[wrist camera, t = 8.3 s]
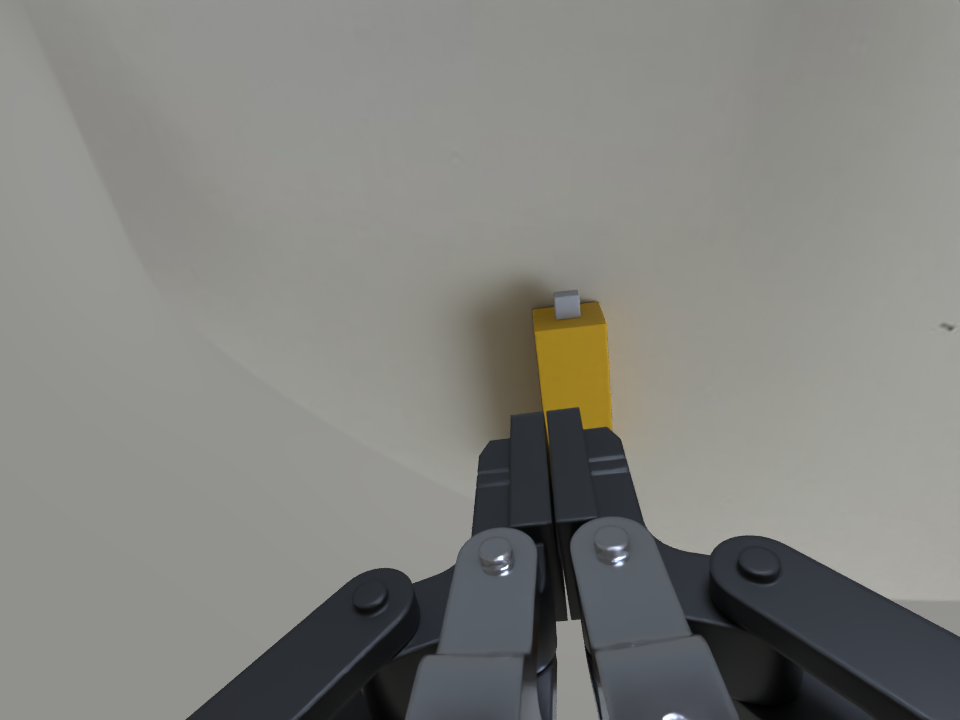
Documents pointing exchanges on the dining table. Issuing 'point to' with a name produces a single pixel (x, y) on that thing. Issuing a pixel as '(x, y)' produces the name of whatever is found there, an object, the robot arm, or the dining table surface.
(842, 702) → the robot arm
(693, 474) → the dining table surface
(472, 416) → the dining table surface
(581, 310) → the box cutter
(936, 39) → the dining table surface
